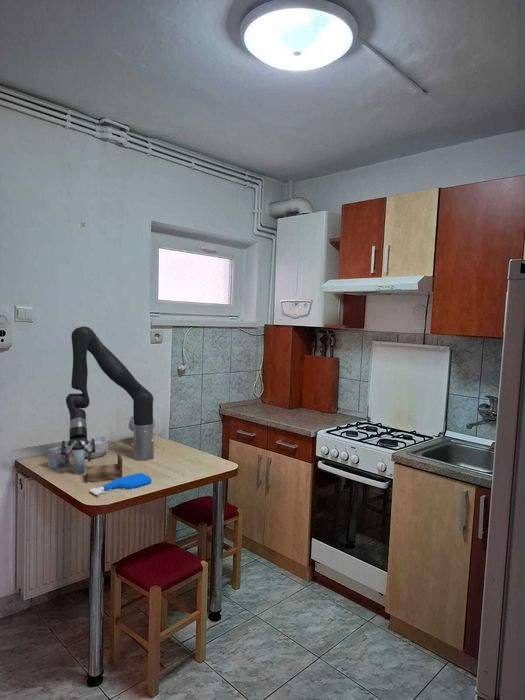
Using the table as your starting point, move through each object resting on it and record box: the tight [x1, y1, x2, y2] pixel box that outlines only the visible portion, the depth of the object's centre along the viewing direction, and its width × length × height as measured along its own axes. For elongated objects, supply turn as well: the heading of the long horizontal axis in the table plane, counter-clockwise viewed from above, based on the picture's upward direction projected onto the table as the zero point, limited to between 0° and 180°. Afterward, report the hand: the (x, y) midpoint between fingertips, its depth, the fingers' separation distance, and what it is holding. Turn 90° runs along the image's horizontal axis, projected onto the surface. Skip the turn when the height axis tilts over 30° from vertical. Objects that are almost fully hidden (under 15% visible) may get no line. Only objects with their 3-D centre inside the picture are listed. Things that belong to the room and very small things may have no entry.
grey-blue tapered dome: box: [72, 449, 85, 475], centre depth 211 cm, size 5×5×10 cm
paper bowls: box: [83, 436, 110, 459], centre depth 237 cm, size 15×15×8 cm
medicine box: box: [47, 444, 68, 469], centre depth 220 cm, size 8×4×9 cm, turn 168°
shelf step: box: [86, 452, 123, 483], centre depth 205 cm, size 14×10×9 cm
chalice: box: [128, 416, 156, 447], centre depth 260 cm, size 14×14×15 cm
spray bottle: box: [89, 472, 152, 497], centre depth 195 cm, size 3×11×24 cm
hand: (78, 461), depth 210 cm, fingers open, 8 cm apart
